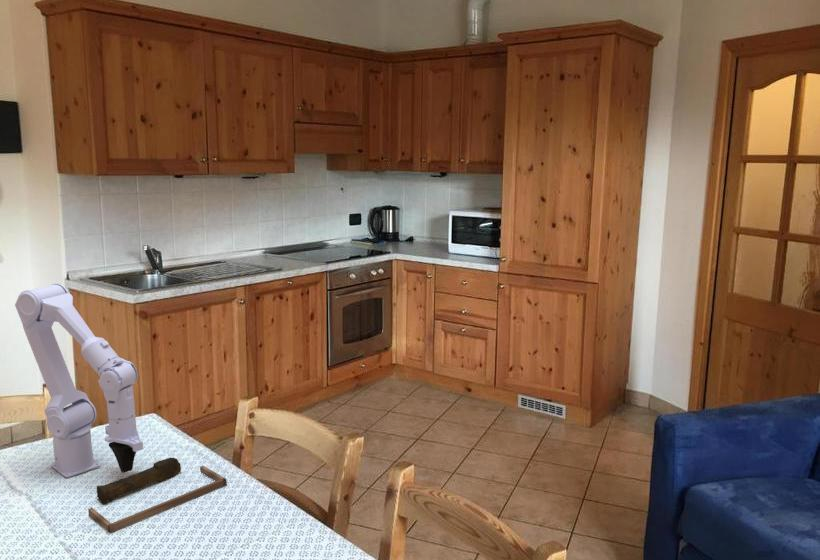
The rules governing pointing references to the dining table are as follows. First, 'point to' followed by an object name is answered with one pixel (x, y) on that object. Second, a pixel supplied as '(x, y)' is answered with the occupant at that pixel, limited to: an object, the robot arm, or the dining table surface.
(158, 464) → the hand tool
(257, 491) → the dining table surface
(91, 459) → the robot arm
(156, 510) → the tool bay
